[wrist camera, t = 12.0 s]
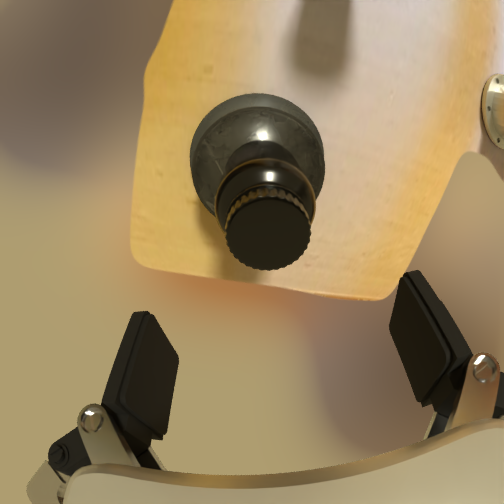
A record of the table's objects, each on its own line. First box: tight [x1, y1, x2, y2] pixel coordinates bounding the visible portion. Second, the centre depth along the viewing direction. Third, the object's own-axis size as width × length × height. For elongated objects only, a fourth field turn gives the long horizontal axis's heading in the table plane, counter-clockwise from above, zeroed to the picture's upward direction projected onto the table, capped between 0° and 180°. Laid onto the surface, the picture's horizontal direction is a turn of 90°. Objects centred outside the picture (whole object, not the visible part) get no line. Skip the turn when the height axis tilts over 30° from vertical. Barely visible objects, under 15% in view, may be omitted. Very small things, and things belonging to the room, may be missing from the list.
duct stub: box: [190, 93, 325, 217], centre depth 28 cm, size 15×15×6 cm
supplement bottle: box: [215, 140, 316, 271], centre depth 20 cm, size 7×7×12 cm
